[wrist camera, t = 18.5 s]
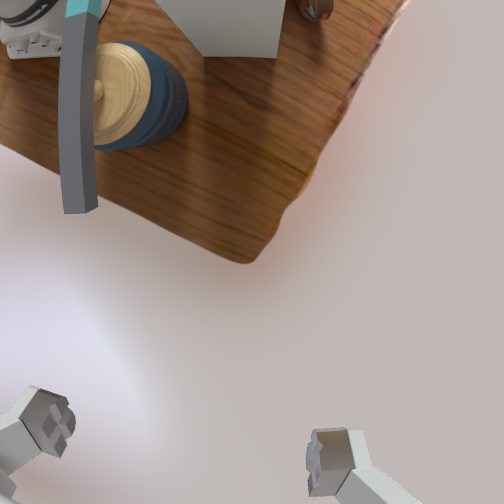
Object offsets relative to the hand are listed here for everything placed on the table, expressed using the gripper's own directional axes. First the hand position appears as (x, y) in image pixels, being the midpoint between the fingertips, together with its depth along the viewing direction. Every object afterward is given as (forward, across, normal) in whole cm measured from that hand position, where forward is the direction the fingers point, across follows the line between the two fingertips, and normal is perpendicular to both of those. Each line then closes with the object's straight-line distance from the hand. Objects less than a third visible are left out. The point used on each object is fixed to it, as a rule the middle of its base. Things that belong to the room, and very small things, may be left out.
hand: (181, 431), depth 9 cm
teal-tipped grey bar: (+21, +15, -13) cm, 29 cm away
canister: (+39, +15, -13) cm, 44 cm away
